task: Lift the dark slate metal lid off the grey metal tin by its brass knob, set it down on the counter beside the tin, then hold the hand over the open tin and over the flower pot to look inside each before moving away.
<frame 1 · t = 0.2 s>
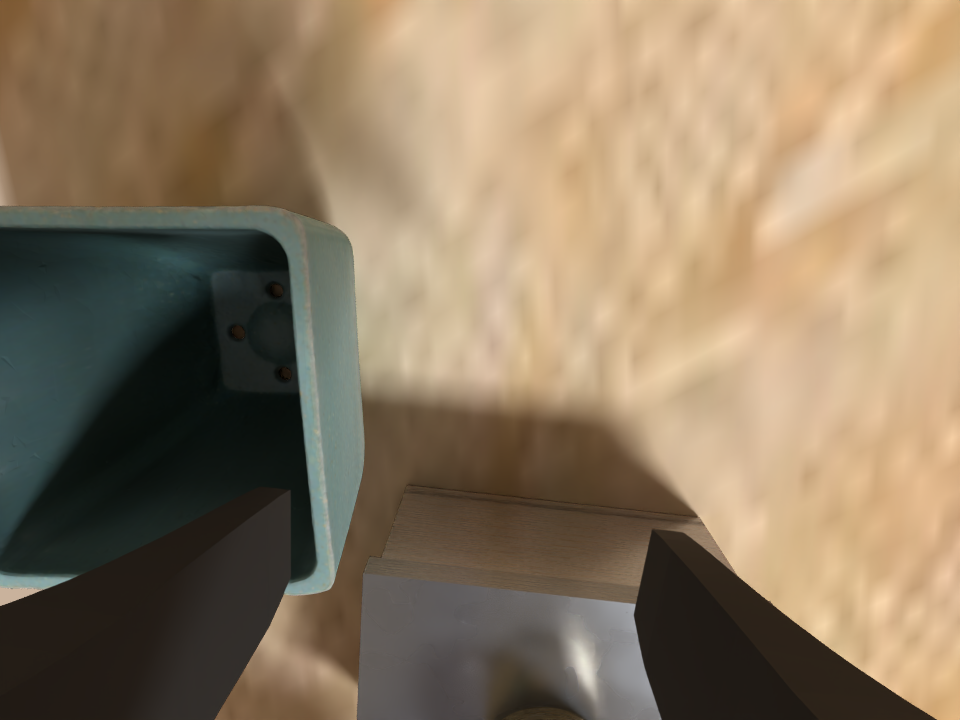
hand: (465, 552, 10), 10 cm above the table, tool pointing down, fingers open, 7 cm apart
tin: (533, 620, 23), on the table
flower pot: (287, 328, 20), on the table
lid: (541, 714, 18), point 4 cm above the table, touching tin
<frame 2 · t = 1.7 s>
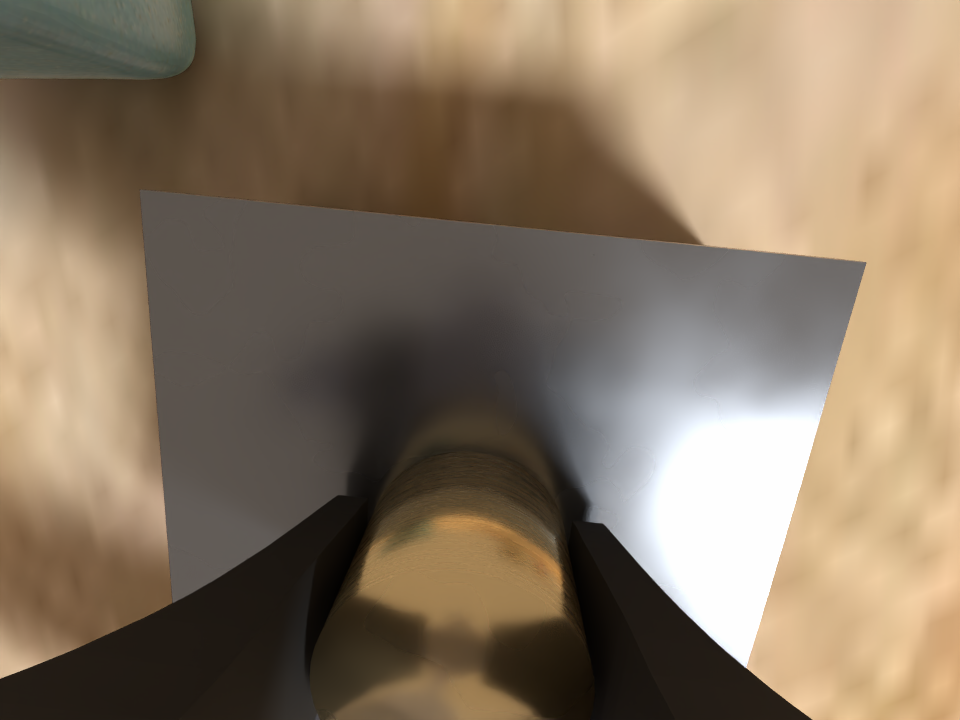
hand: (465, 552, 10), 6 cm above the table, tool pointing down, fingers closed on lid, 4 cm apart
lid: (471, 504, 12), point 4 cm above the table, touching gripper, tin
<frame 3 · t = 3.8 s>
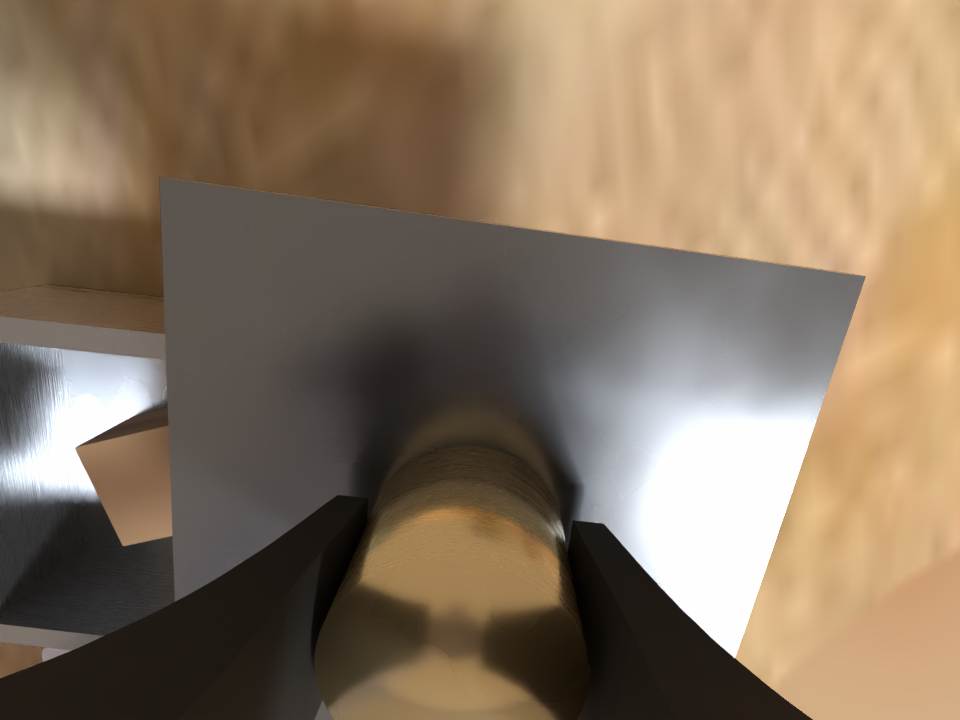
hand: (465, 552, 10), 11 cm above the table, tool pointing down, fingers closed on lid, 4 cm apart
tin: (207, 443, 21), on the table
copper block: (198, 449, 21), point 1 cm above the table, touching tin
lid: (470, 497, 12), point 8 cm above the table, touching gripper
when the fingers open (2 cm above the table, at t = 6.2 s): lid stays where it is, on the table.
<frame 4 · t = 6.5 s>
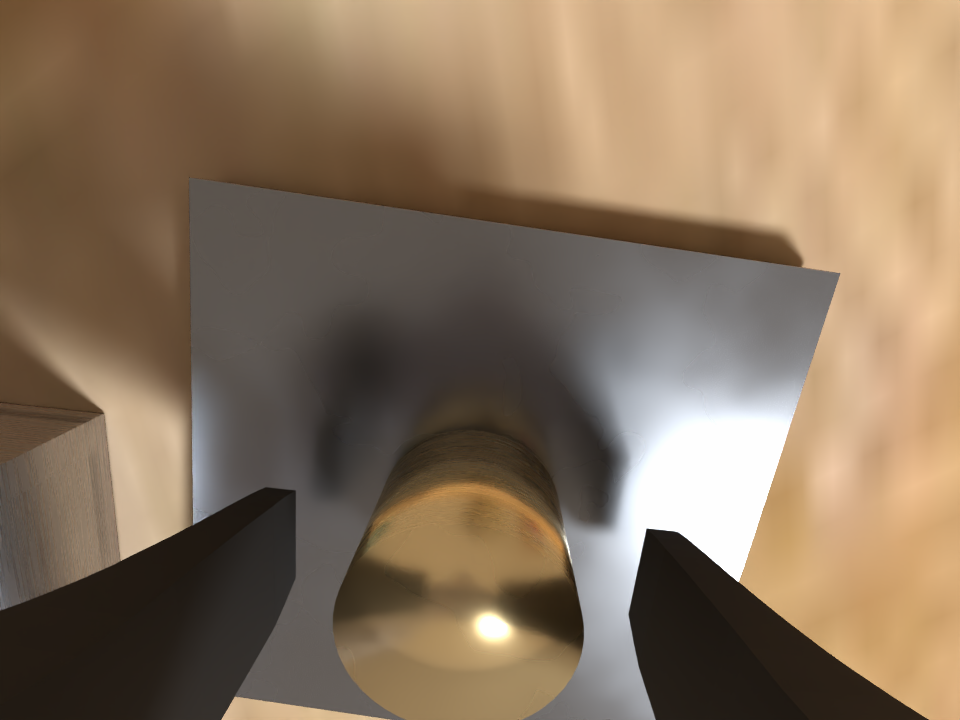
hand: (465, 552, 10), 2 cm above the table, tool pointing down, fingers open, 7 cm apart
lid: (473, 481, 13), on the table
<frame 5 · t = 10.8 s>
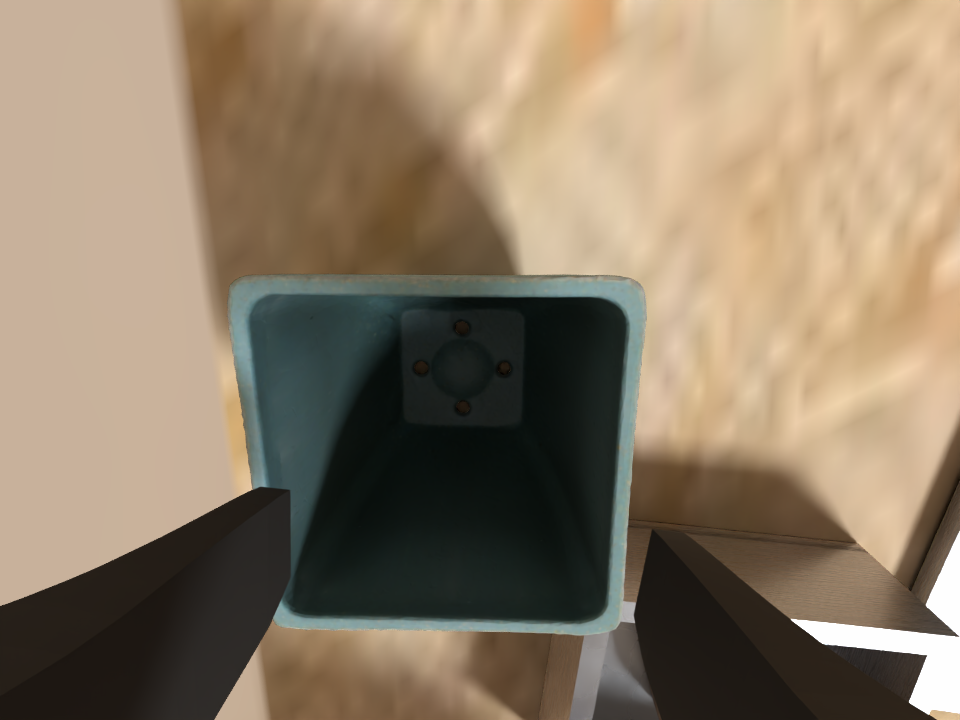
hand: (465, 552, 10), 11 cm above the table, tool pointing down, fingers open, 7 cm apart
tin: (685, 644, 23), on the table
flower pot: (465, 363, 20), on the table
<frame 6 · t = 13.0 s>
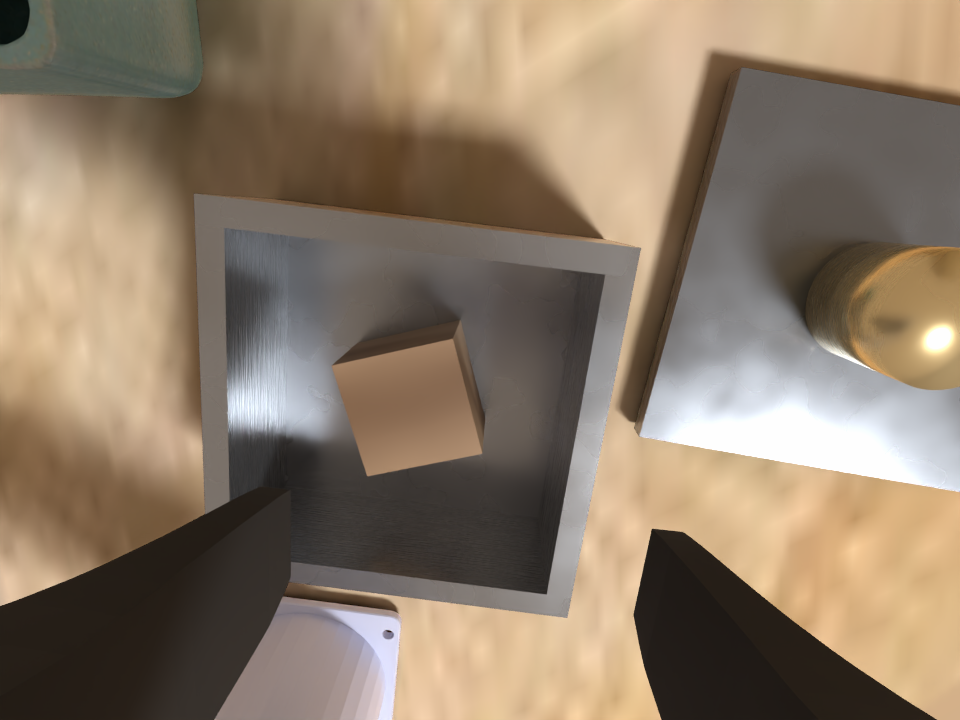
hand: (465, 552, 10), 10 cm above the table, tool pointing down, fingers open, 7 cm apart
tin: (424, 376, 20), on the table
copper block: (422, 381, 20), point 1 cm above the table, touching tin
lid: (840, 295, 19), on the table
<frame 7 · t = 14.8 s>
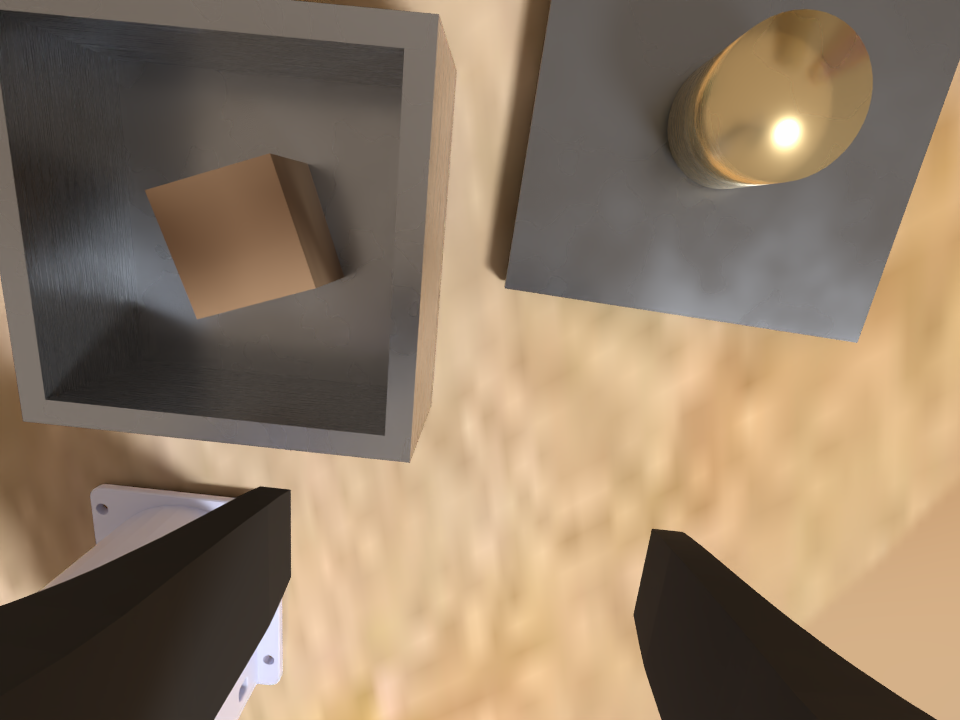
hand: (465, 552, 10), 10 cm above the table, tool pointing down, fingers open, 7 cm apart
tin: (281, 235, 19), on the table
copper block: (274, 236, 18), point 1 cm above the table, touching tin
lid: (713, 130, 18), on the table
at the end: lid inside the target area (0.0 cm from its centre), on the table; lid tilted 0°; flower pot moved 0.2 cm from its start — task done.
